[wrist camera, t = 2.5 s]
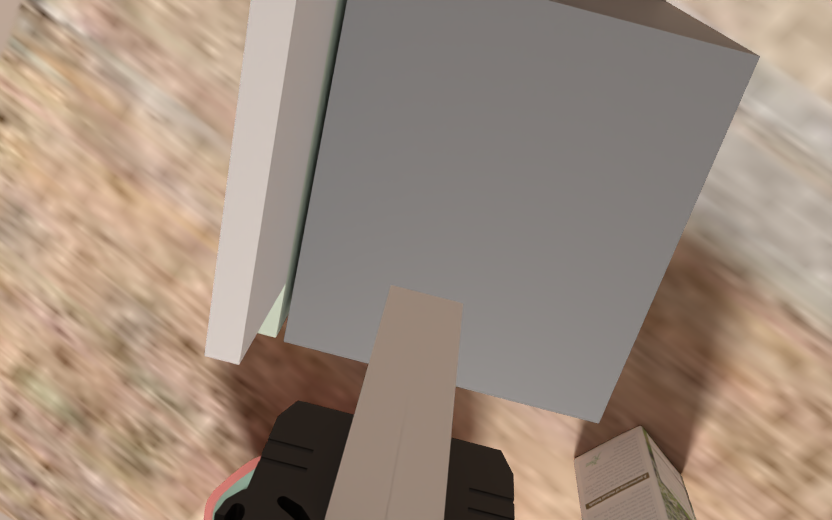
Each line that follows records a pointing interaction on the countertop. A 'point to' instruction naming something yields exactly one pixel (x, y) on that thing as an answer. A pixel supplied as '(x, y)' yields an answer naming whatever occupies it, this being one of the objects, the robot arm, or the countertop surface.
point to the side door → (271, 167)
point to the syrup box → (630, 481)
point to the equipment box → (512, 181)
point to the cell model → (230, 487)
